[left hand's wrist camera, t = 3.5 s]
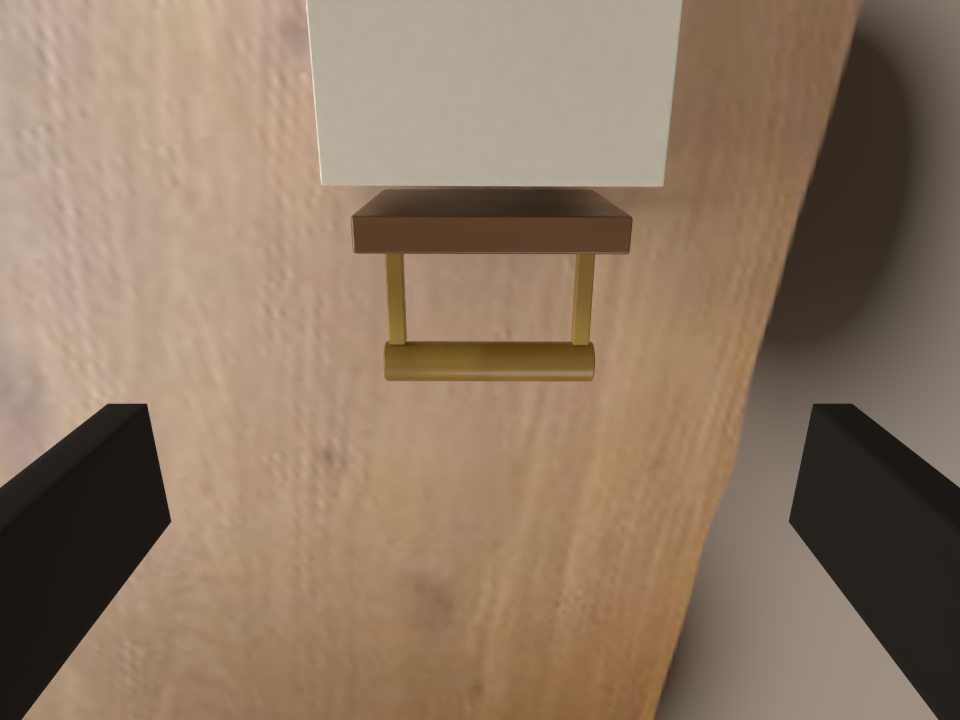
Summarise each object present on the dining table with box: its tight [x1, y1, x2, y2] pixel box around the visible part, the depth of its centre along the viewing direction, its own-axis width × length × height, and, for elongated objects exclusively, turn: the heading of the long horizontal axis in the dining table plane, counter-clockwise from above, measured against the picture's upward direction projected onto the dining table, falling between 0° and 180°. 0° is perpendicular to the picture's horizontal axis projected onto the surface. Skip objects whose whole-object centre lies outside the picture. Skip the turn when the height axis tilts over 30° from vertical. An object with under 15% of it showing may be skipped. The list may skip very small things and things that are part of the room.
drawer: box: [351, 190, 633, 381], centre depth 22 cm, size 22×9×7 cm, turn 0°
